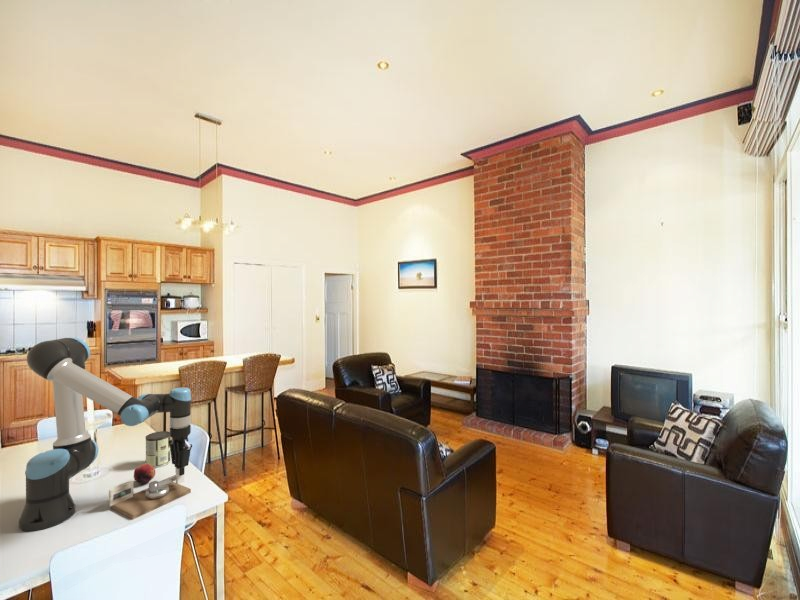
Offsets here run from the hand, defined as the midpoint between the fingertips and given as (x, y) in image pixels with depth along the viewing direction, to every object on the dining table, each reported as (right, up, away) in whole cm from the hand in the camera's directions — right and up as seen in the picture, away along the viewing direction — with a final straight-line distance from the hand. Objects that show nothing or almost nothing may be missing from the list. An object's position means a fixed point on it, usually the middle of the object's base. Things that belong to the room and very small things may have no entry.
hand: (179, 482), depth 159 cm
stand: (-8, -4, -6) cm, 11 cm away
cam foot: (-5, -2, -2) cm, 6 cm away
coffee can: (-26, -4, +27) cm, 38 cm away
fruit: (-20, -4, +8) cm, 22 cm away
